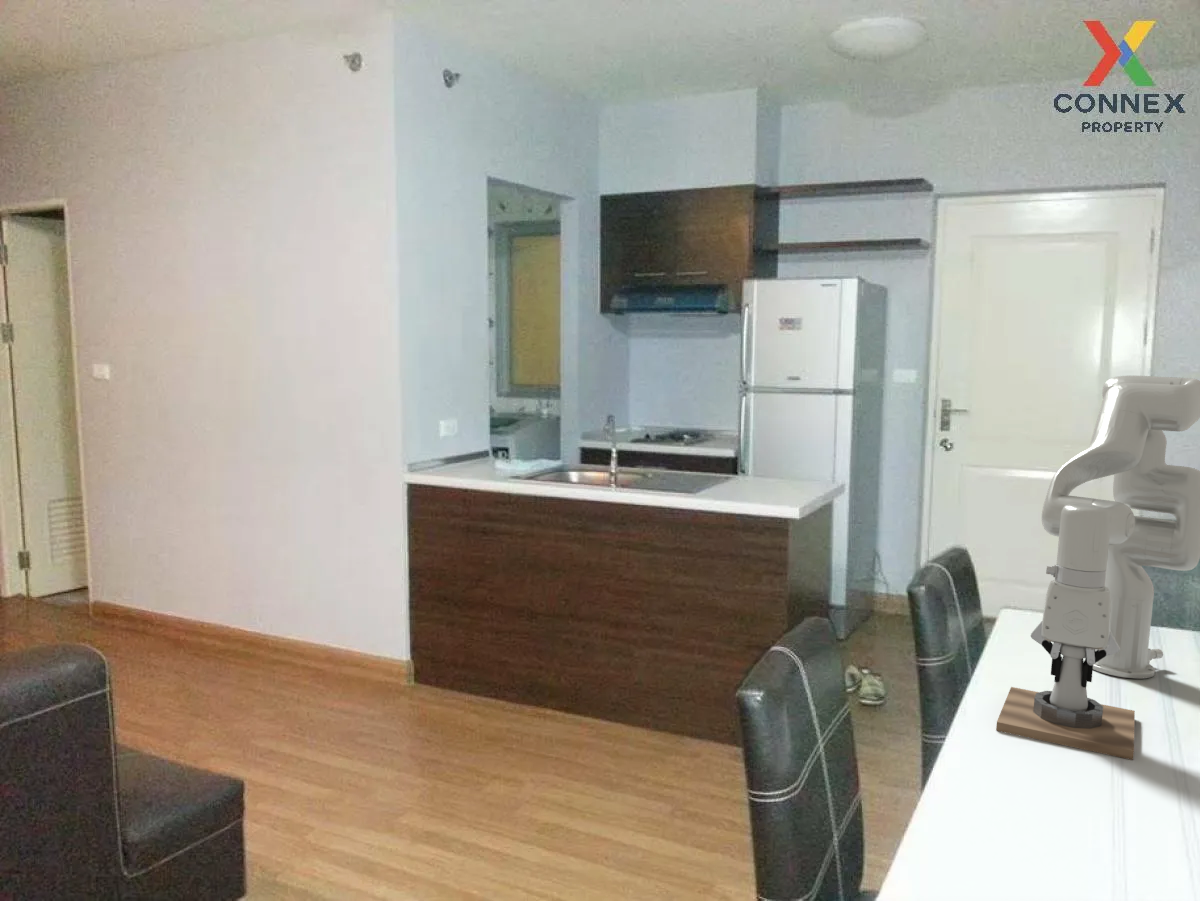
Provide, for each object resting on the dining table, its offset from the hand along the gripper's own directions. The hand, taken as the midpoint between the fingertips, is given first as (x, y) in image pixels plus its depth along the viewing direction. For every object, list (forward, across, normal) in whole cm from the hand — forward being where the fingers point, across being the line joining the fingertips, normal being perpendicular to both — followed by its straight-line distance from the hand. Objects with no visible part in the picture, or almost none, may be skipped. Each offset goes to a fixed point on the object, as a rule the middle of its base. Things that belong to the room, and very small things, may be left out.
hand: (1070, 681), depth 159 cm
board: (+8, 0, 0) cm, 8 cm away
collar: (+6, 0, 0) cm, 6 cm away
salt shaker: (+6, 0, 0) cm, 6 cm away
